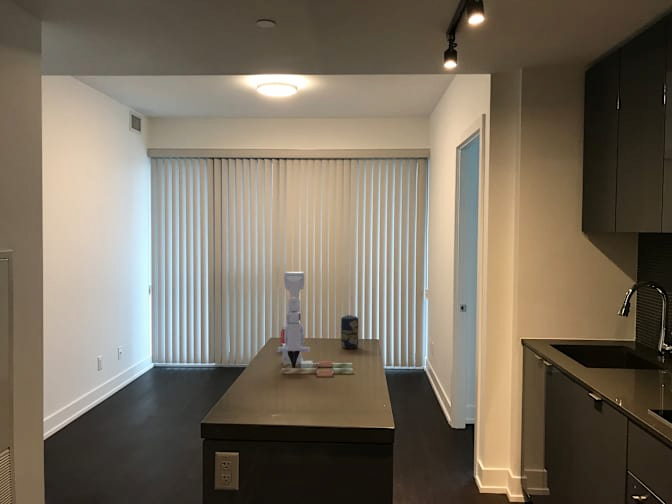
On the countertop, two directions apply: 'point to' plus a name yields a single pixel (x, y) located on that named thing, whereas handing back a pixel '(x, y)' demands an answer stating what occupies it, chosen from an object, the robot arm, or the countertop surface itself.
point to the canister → (349, 331)
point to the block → (306, 364)
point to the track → (337, 369)
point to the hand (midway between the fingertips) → (293, 367)
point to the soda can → (282, 337)
